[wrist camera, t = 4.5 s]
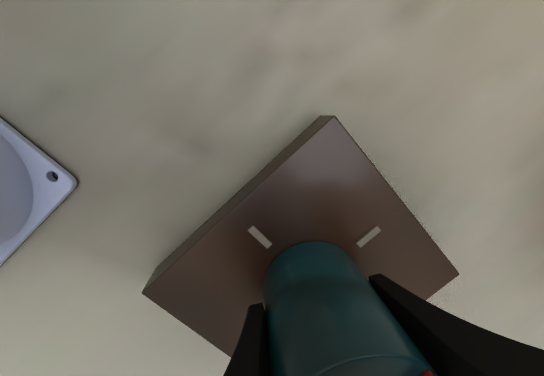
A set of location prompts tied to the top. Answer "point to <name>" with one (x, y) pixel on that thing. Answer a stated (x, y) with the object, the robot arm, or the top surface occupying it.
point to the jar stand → (295, 234)
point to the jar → (332, 319)
